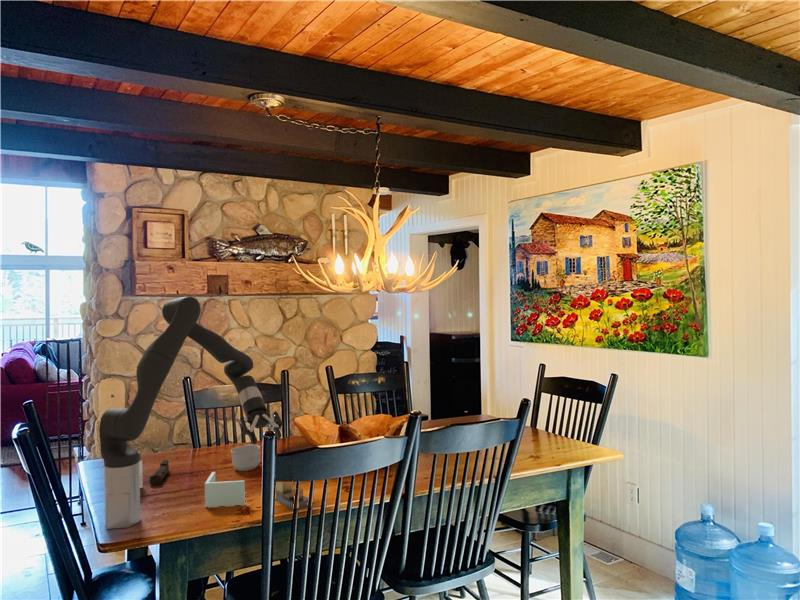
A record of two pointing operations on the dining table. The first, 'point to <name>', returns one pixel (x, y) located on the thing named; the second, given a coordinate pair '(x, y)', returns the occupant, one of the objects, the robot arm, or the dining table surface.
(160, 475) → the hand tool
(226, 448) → the dining table surface
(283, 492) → the lever cap
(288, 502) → the body
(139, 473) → the jar
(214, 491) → the right angle wall
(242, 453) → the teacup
